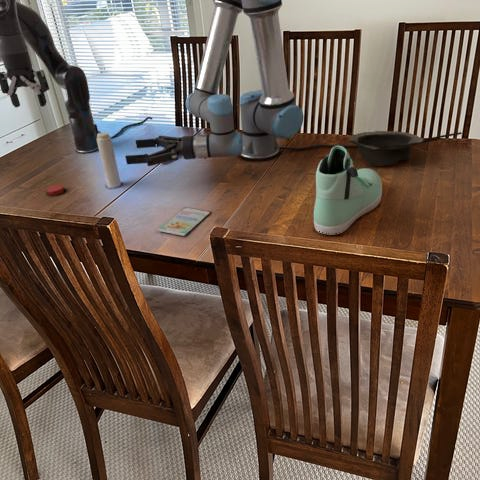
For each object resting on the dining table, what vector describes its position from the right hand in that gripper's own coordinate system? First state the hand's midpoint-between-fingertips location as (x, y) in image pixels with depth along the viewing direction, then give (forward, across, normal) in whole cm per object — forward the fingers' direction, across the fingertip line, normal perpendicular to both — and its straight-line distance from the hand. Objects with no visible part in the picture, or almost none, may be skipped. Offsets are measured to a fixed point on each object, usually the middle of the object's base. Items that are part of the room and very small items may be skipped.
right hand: (131, 151), depth 158 cm
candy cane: (-8, +23, -12) cm, 28 cm away
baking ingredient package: (-20, -28, -12) cm, 36 cm away
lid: (+28, -4, -10) cm, 30 cm away
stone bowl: (-85, +14, -14) cm, 87 cm away
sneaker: (-68, -23, -13) cm, 73 cm away
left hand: (+27, -3, +18) cm, 33 cm away
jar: (+9, 0, -12) cm, 15 cm away
